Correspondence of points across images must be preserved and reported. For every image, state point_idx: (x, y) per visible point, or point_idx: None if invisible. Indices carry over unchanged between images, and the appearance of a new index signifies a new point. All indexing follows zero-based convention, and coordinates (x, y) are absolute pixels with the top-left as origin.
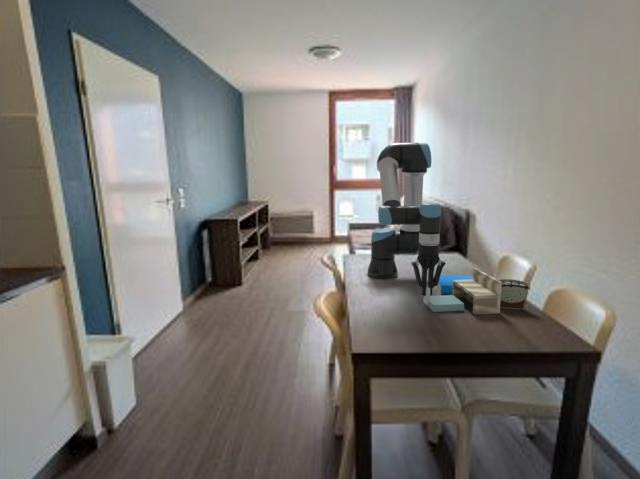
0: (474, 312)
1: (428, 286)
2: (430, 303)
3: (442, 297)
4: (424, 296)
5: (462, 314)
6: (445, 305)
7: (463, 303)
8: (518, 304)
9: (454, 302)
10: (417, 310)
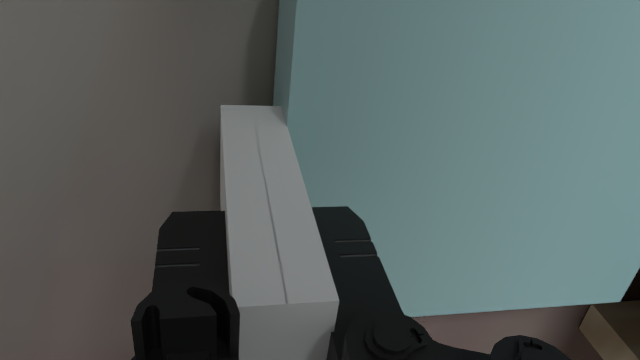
0: (589, 339)
1: (330, 355)
2: None
3: (566, 83)
4: (223, 198)
5: (491, 326)
6: (418, 308)
7: (620, 295)
8: None
9: (561, 267)
10: (83, 225)
